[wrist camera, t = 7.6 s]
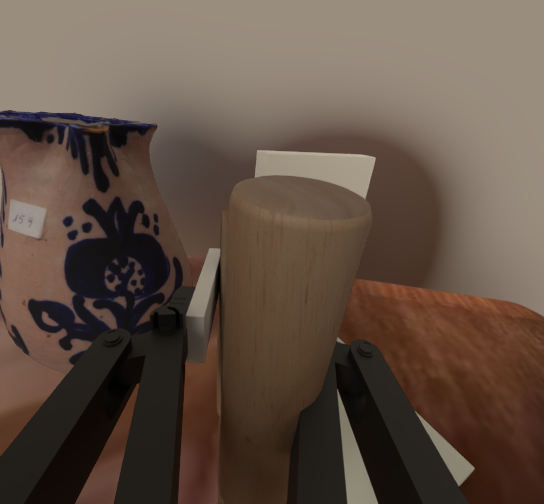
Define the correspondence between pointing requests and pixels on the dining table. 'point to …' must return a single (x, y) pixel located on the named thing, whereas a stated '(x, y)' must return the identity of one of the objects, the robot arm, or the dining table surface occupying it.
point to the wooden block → (278, 320)
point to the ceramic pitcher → (81, 233)
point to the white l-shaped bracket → (360, 493)
